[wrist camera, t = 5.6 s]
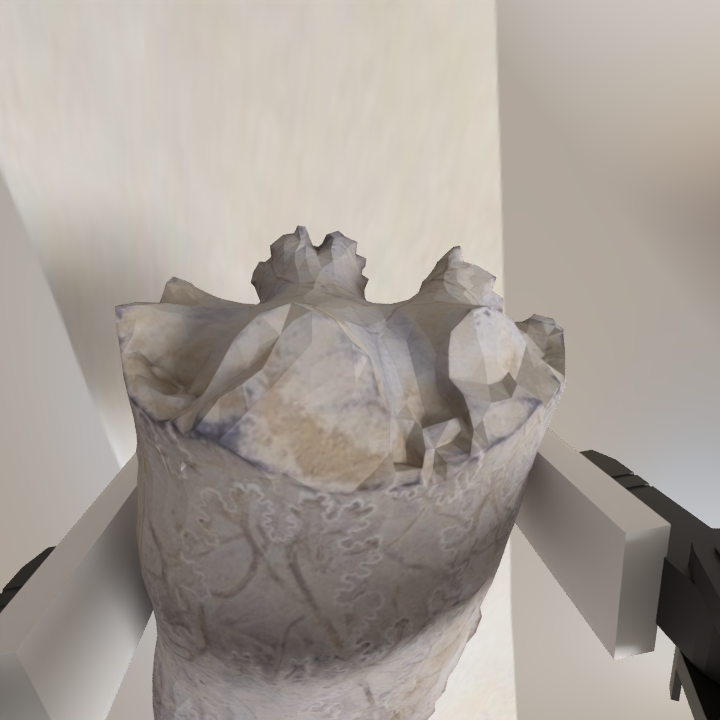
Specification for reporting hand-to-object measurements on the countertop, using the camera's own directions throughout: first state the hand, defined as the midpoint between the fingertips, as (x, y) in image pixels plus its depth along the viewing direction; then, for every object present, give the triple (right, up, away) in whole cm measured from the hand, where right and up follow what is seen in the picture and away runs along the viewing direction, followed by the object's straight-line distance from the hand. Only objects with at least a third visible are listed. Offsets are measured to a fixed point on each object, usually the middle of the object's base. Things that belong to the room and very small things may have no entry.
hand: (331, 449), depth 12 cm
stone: (0, +1, 0) cm, 1 cm away
